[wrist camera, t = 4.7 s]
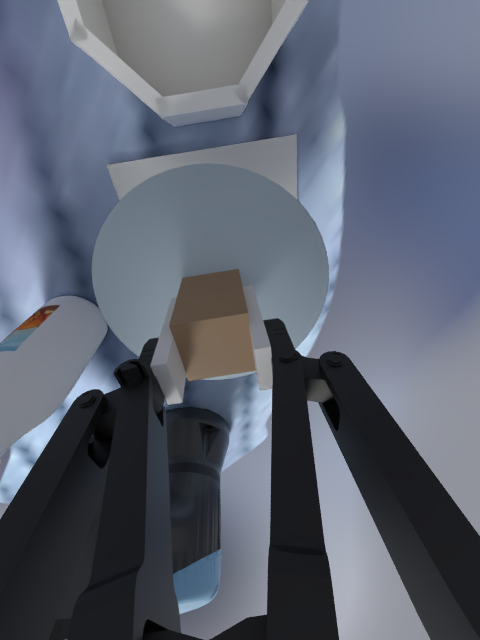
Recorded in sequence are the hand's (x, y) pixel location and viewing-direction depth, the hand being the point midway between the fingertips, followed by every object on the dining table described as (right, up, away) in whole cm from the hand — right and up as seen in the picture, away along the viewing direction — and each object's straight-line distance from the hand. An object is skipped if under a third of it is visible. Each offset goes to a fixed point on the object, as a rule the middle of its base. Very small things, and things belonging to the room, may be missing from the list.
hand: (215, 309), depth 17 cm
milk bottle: (-20, -1, +16) cm, 25 cm away
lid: (0, +1, +2) cm, 3 cm away
